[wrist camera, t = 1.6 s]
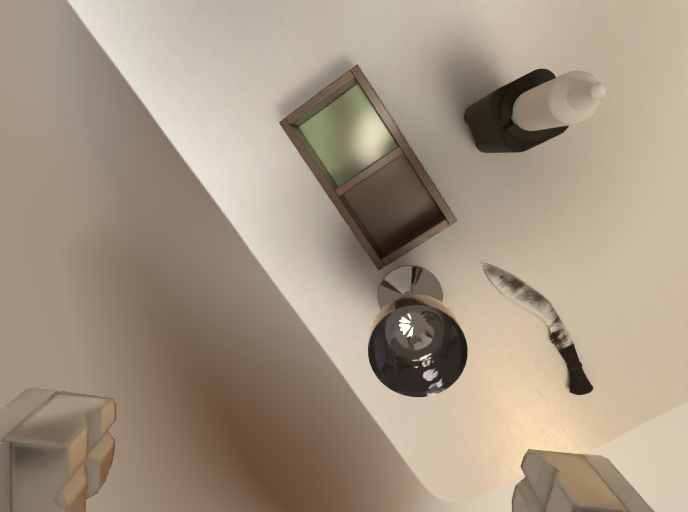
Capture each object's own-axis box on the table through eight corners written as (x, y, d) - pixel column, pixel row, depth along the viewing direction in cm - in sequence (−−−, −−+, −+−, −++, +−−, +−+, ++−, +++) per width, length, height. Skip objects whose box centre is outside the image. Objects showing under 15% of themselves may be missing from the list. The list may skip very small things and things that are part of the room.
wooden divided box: (360, 72, 48) (357, 64, 44) (451, 214, 50) (457, 220, 46) (288, 125, 50) (278, 122, 45) (379, 260, 52) (378, 270, 47)
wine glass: (360, 288, 53) (348, 339, 38) (419, 247, 51) (429, 285, 37) (401, 343, 54) (405, 414, 39) (460, 305, 52) (487, 364, 37)
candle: (460, 110, 48) (531, 66, 24) (508, 86, 47) (634, 14, 23) (480, 156, 49) (570, 159, 24) (528, 133, 48) (671, 113, 23)
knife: (464, 280, 51) (500, 248, 50) (461, 278, 52) (496, 247, 51) (579, 402, 52) (615, 372, 51) (573, 396, 53) (609, 367, 52)
